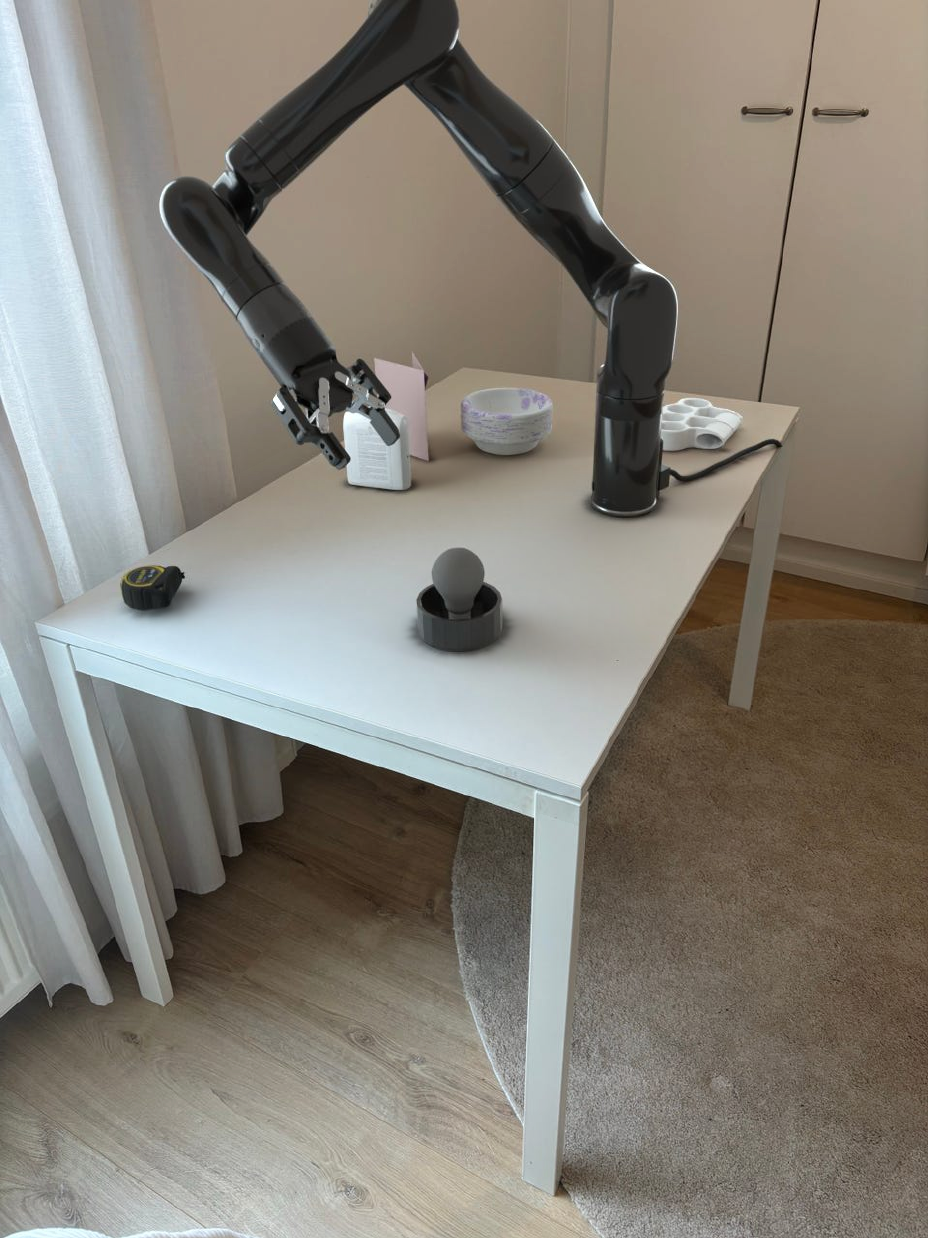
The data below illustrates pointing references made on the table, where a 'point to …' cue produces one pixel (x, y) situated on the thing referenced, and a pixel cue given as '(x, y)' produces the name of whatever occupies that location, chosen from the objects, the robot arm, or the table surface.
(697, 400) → the white multi-hole holder
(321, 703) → the table surface
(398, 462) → the white upright block
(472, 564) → the light bulb
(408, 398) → the greeting card
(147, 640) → the table surface
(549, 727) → the table surface
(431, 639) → the dark gray bowl
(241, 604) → the table surface
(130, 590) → the tape measure
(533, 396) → the paper bowls
